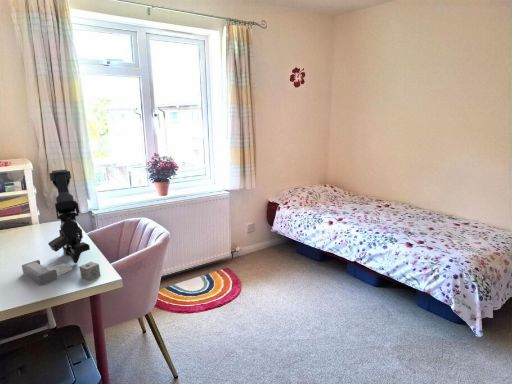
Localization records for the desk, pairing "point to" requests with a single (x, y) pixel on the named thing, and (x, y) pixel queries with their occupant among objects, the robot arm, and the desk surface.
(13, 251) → the desk surface
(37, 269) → the dock
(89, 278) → the dice cube
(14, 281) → the desk surface
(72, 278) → the desk surface
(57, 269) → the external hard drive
